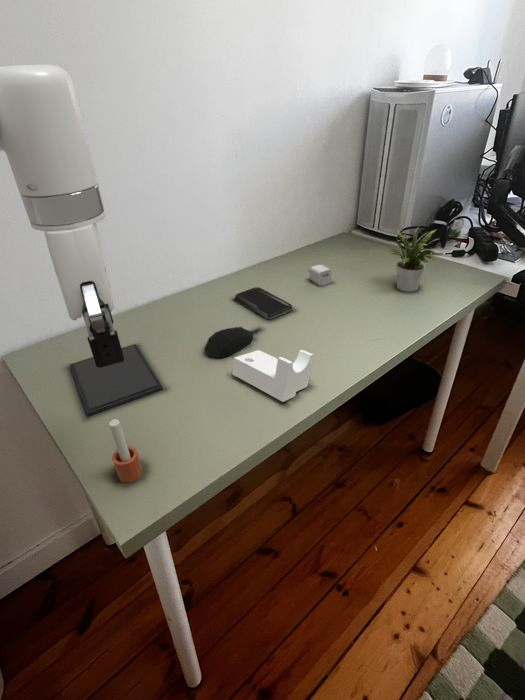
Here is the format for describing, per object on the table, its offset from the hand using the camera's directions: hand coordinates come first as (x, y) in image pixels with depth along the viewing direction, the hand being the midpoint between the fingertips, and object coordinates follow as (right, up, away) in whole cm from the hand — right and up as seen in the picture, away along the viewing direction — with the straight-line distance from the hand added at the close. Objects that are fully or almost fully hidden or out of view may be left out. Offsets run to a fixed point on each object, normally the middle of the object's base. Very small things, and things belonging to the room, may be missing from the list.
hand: (105, 343), depth 55 cm
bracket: (+22, -7, +29) cm, 37 cm away
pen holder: (0, -20, +11) cm, 23 cm away
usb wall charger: (+35, +19, +66) cm, 77 cm away
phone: (+20, +11, +55) cm, 59 cm away
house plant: (+57, +15, +59) cm, 83 cm away
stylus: (0, -19, +11) cm, 22 cm away
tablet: (-10, -6, +32) cm, 34 cm away
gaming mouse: (+14, +1, +41) cm, 43 cm away
